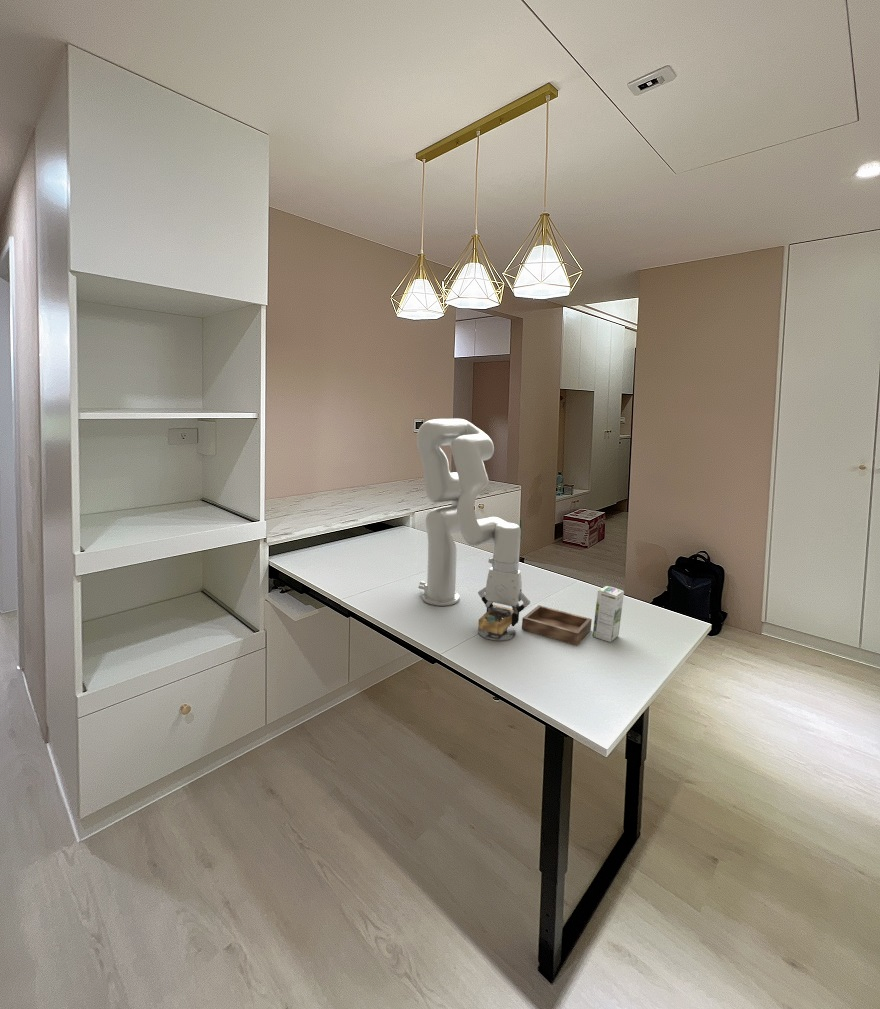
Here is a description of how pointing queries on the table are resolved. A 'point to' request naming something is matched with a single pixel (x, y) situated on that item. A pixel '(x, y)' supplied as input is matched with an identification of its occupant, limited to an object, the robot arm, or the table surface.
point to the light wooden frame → (491, 625)
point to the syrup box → (608, 613)
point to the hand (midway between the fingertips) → (502, 621)
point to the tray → (557, 624)
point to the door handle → (498, 614)
